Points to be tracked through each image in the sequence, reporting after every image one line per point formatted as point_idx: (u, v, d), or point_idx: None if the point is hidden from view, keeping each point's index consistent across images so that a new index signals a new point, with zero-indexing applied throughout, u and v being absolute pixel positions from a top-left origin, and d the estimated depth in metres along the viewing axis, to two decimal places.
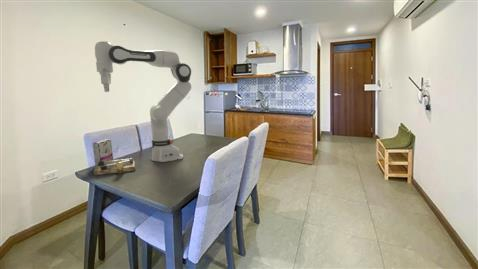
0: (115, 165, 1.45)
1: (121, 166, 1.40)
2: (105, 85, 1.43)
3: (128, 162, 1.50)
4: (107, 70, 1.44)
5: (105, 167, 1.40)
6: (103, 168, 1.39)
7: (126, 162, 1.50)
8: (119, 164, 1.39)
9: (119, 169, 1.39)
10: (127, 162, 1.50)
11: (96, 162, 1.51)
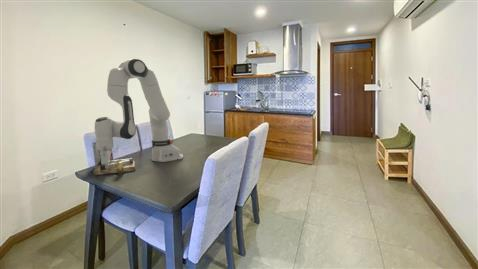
0: (114, 165, 1.45)
1: (121, 166, 1.40)
2: None
3: (128, 162, 1.50)
4: (107, 147, 1.35)
5: (104, 167, 1.41)
6: (102, 168, 1.40)
7: (126, 162, 1.50)
8: (119, 164, 1.39)
9: (119, 169, 1.39)
10: (127, 162, 1.50)
11: (96, 162, 1.51)
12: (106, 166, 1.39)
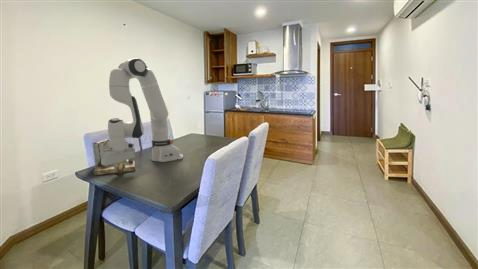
0: None
1: (121, 166, 1.40)
2: (113, 164, 1.36)
3: (126, 162, 1.51)
4: (113, 149, 1.34)
5: None
6: (100, 165, 1.45)
7: None
8: (119, 164, 1.39)
9: (119, 169, 1.39)
10: None
11: (96, 162, 1.51)
12: (115, 168, 1.38)
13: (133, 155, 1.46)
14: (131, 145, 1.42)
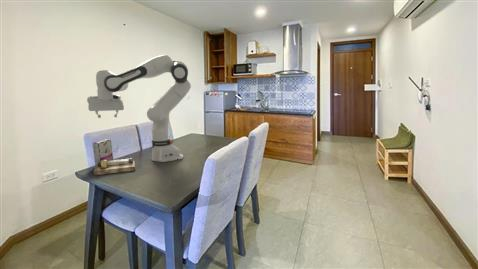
0: (112, 163, 1.48)
1: (104, 164, 1.42)
2: None
3: (126, 162, 1.51)
4: (98, 97, 1.49)
5: None
6: (100, 165, 1.45)
7: (124, 162, 1.50)
8: (102, 162, 1.42)
9: (102, 167, 1.42)
10: (125, 162, 1.51)
11: (96, 162, 1.51)
12: (98, 116, 1.53)
13: (120, 107, 1.56)
14: (116, 97, 1.52)
